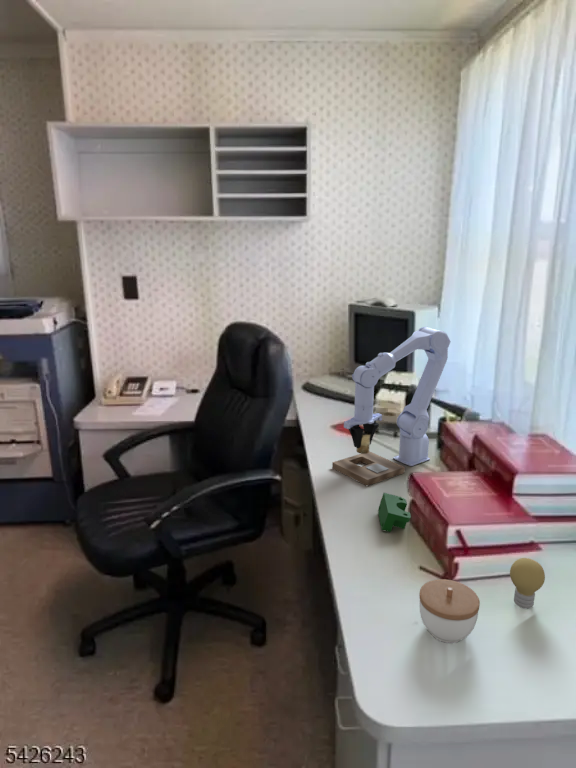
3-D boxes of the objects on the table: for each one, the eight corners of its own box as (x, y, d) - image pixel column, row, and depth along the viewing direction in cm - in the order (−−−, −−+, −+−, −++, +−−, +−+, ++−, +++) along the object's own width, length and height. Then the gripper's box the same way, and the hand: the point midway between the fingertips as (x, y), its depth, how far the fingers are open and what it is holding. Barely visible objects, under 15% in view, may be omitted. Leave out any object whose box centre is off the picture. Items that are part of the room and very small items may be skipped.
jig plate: (368, 456, 185) (369, 450, 184) (404, 472, 172) (404, 466, 172) (332, 468, 176) (332, 461, 175) (367, 486, 163) (367, 478, 163)
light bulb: (512, 590, 116) (517, 548, 113) (544, 603, 112) (550, 559, 109) (501, 606, 111) (507, 562, 108) (535, 619, 107) (541, 574, 104)
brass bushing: (362, 447, 178) (363, 429, 176) (371, 451, 175) (373, 433, 173) (353, 450, 175) (354, 432, 173) (362, 454, 172) (364, 436, 170)
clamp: (399, 545, 140) (411, 524, 135) (377, 539, 140) (388, 518, 135) (399, 508, 150) (410, 487, 144) (378, 503, 150) (388, 481, 144)
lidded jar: (435, 605, 111) (438, 564, 109) (486, 631, 104) (490, 588, 101) (406, 632, 104) (409, 589, 101) (458, 661, 96) (463, 616, 94)
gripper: (355, 412, 164) (353, 454, 167) (389, 403, 172) (387, 444, 176) (339, 406, 169) (338, 447, 173) (373, 398, 177) (372, 437, 181)
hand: (362, 445), depth 175 cm, fingers closed on brass bushing, 4 cm apart
